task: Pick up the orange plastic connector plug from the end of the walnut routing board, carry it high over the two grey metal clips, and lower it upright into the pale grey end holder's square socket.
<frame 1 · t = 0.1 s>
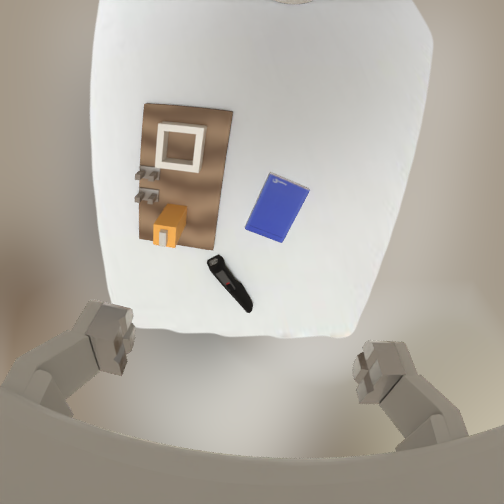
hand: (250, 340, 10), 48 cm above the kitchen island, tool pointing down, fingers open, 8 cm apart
end holder: (182, 144, 52), resting on routing board
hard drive: (276, 206, 60), on the kitchen island
routing board: (180, 178, 56), on the kitchen island
electric trimmer: (232, 280, 69), on the kitchen island
connector plug: (176, 214, 59), point 1 cm above the kitchen island, touching routing board
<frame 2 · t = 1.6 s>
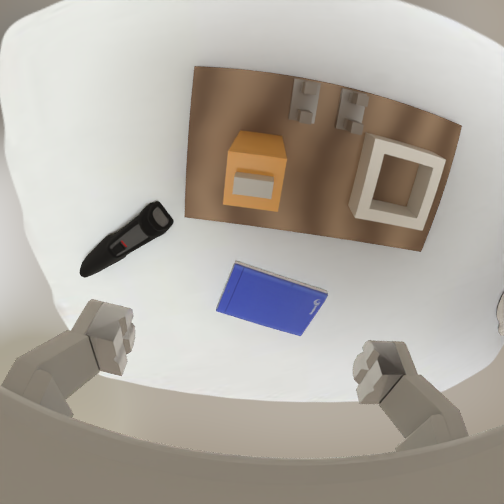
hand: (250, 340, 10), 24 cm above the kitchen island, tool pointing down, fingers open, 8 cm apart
end holder: (391, 177, 29), resting on routing board
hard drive: (270, 296, 40), on the kitchen island
routing board: (327, 161, 30), on the kitchen island
electric trimmer: (126, 239, 37), on the kitchen island
connector plug: (258, 152, 29), point 1 cm above the kitchen island, touching routing board
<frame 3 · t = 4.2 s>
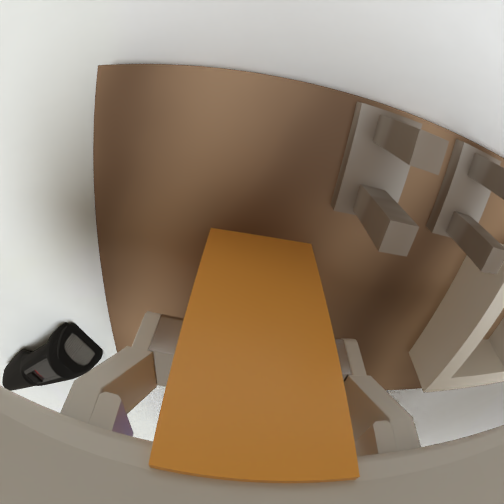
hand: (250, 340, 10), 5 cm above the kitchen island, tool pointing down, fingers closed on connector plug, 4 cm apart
end holder: (486, 306, 14), resting on routing board
routing board: (389, 281, 15), on the kitchen island
electric trimmer: (47, 354, 20), on the kitchen island
connector plug: (253, 276, 13), point 1 cm above the kitchen island, touching gripper, routing board
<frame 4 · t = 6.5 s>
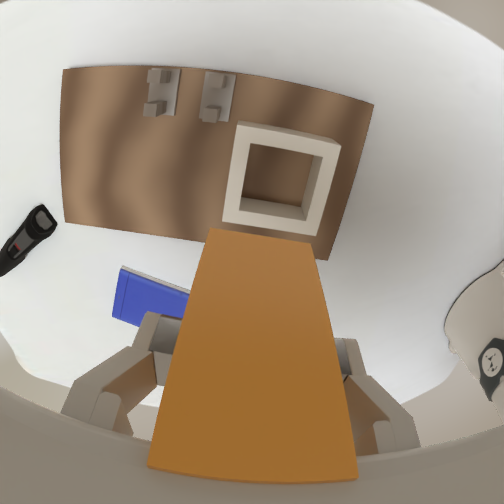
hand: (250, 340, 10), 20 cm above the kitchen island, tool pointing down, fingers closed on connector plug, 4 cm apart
end holder: (277, 172, 26), resting on routing board
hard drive: (165, 304, 36), on the kitchen island
routing board: (198, 156, 26), on the kitchen island
electric trimmer: (25, 241, 31), on the kitchen island
connector plug: (252, 276, 13), point 16 cm above the kitchen island, touching gripper
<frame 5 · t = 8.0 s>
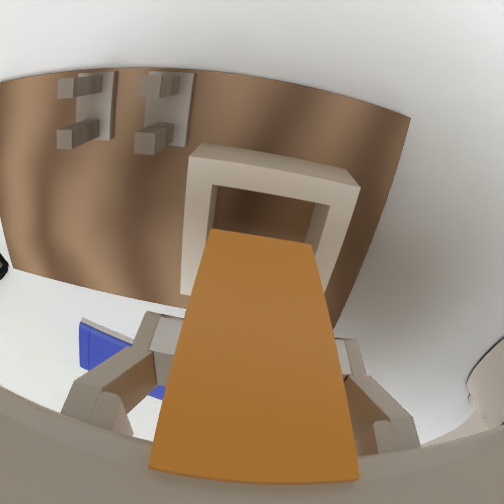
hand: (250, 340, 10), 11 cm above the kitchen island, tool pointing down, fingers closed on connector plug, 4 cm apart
end holder: (262, 219, 18), resting on routing board
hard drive: (138, 359, 29), on the kitchen island
routing board: (153, 194, 19), on the kitchen island
connector plug: (253, 277, 13), point 7 cm above the kitchen island, touching gripper
when the fingers open (6 cm above the kitchen island, at t = 9.3 s): connector plug drops 1 cm, resting on routing board.
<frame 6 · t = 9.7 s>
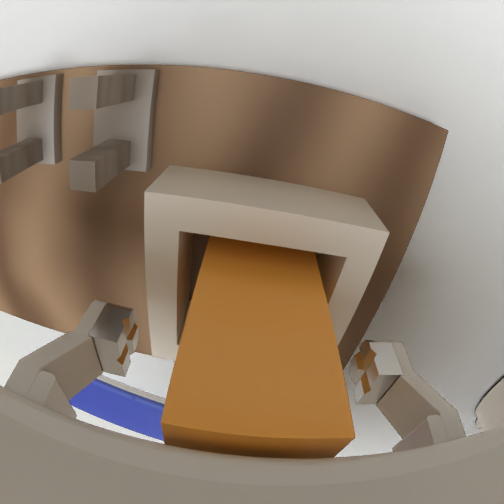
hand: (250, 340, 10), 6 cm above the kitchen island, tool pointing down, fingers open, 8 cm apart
end holder: (253, 263, 14), resting on routing board
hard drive: (121, 396, 25), on the kitchen island
routing board: (116, 228, 14), on the kitchen island
connector plug: (254, 264, 14), point 1 cm above the kitchen island, touching routing board
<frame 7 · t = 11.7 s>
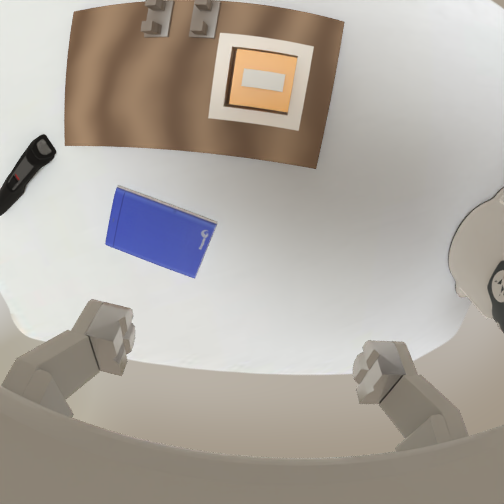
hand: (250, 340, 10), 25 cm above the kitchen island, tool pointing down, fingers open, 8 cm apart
end holder: (259, 80, 26), resting on routing board
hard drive: (159, 229, 36), on the kitchen island
routing board: (189, 73, 26), on the kitchen island
electric trimmer: (25, 176, 32), on the kitchen island
connector plug: (260, 80, 26), point 1 cm above the kitchen island, touching routing board
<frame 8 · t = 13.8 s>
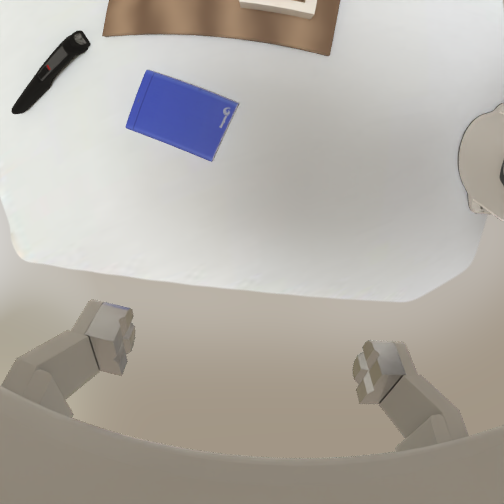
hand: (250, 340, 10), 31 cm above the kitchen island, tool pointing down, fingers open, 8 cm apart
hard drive: (181, 113, 35), on the kitchen island
electric trimmer: (53, 73, 31), on the kitchen island
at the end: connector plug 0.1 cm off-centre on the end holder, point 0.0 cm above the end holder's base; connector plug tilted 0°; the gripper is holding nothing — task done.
